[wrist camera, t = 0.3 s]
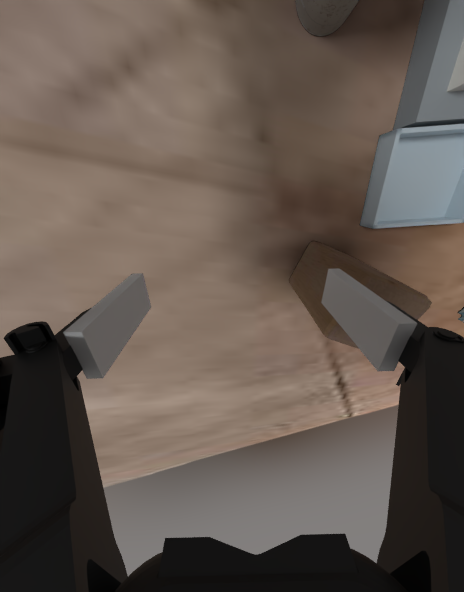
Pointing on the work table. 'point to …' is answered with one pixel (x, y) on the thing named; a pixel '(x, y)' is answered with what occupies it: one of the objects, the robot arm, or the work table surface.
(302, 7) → the thermos bottle
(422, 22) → the board
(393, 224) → the tray
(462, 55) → the tile
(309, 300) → the wooden block
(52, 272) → the work table surface
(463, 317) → the decorative slab
